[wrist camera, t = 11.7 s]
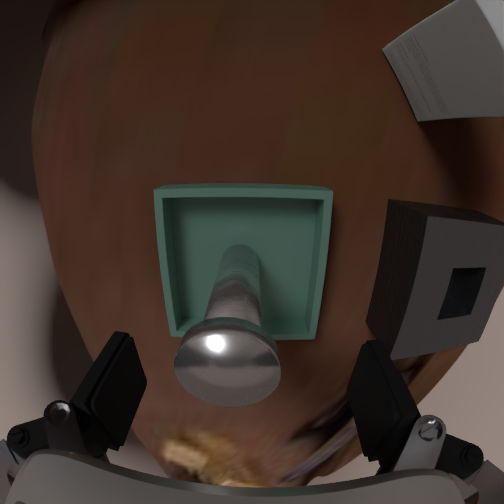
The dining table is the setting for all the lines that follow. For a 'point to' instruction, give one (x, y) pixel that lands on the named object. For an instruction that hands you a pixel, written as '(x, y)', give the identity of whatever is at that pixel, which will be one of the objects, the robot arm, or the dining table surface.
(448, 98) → the supplement box
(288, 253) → the tray
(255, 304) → the pin
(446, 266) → the socket block
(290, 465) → the dining table surface
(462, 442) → the robot arm
